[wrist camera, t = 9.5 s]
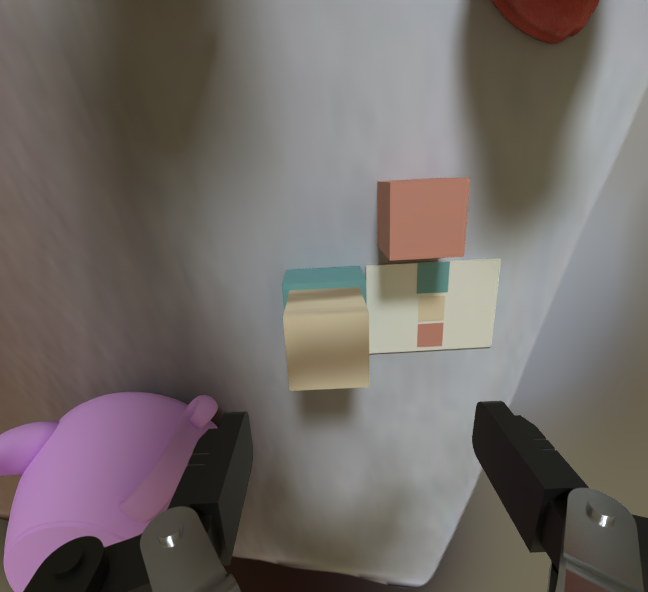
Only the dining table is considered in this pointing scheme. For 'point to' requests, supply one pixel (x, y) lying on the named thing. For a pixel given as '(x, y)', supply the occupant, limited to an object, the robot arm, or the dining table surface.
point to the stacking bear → (548, 16)
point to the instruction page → (431, 305)
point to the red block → (422, 218)
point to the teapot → (96, 472)
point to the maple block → (326, 339)
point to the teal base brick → (323, 279)
